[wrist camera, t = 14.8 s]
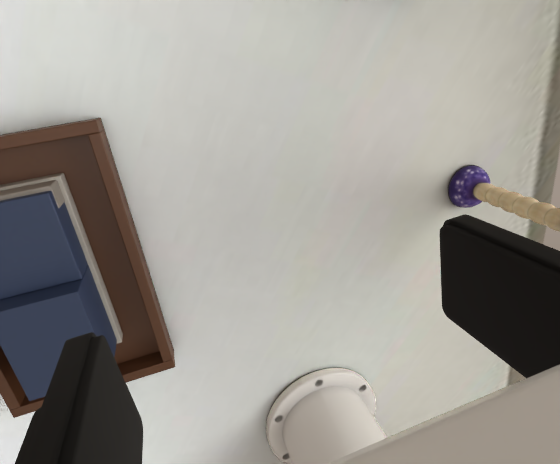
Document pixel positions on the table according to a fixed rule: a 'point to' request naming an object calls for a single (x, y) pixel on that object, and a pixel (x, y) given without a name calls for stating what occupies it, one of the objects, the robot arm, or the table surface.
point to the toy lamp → (499, 197)
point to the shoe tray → (93, 242)
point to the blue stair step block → (47, 280)
